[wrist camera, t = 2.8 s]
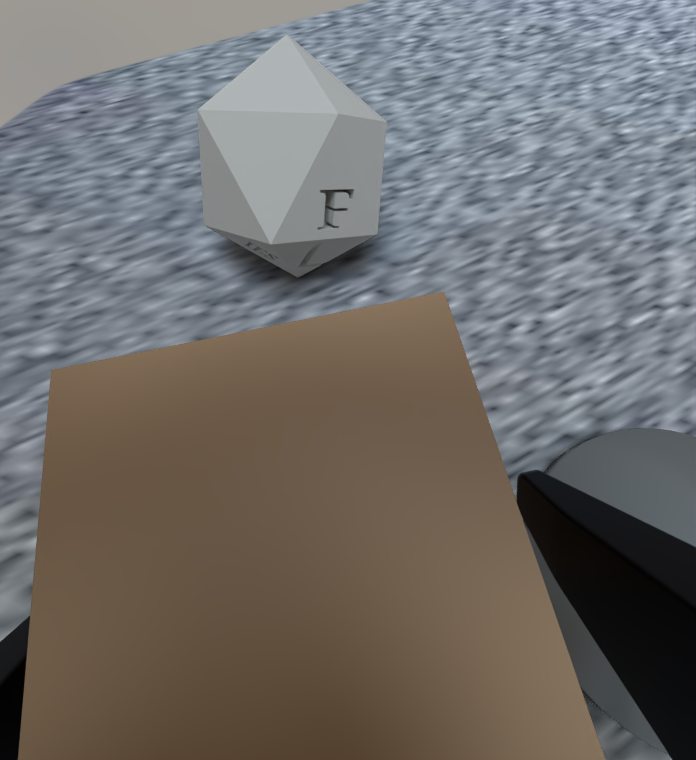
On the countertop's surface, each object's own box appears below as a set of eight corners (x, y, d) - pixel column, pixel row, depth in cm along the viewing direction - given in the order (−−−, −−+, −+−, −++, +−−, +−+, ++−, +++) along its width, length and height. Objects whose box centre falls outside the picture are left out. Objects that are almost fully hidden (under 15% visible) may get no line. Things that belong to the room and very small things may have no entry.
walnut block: (423, 580, 15) (621, 806, 3) (285, 611, 14) (0, 958, 3) (389, 444, 16) (444, 291, 5) (268, 469, 16) (51, 370, 5)
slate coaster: (840, 820, 12) (873, 841, 11) (494, 674, 13) (501, 684, 13) (819, 482, 15) (843, 480, 14) (545, 399, 17) (553, 394, 16)
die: (212, 296, 20) (251, 252, 12) (169, 127, 19) (178, -63, 10) (343, 277, 24) (446, 233, 15) (315, 133, 22) (411, -5, 14)
